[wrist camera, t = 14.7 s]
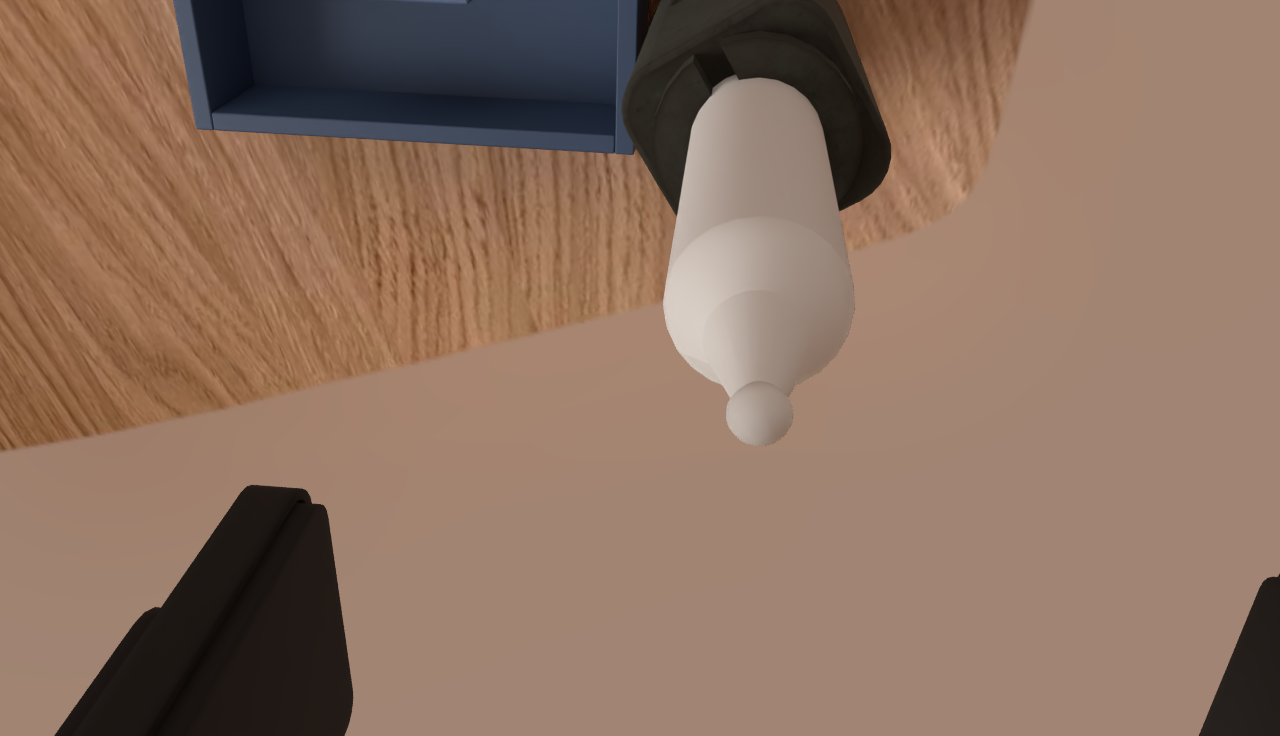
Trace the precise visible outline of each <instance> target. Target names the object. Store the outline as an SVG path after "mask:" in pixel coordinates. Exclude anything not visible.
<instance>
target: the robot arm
mask: <svg viewBox="0 0 1280 736" xmlns="http://www.w3.org/2000/svg"><path fill="white" fill-rule="evenodd" d="M352 706H353V688H352V681H351V674H350V667H349V660H348V653H347V646H346V639H345V632H344V625H343V618H342V611H341V604H340V597H339V590H338V583H337V575H336V568H335V561H334V554H333V548H332V541H331V534H330V526H329V519H328V514H327V510H326V508H325V507H324V505H321V504H312V502H311V498H310V496H309V494H308V492H307V491H306V490H304V489H300V488H286V487H273V486H259V485H250V486H247V487H246V488H245V489H244V490H243V491H242V492H241V493H240V495H239V496H238V497H237V499H236V500H235V502H234V503H233V505H232V506H231V508H230V509H229V511H228V512H227V513H226V515H225V516H224V518H223V519H222V521H221V522H220V523H219V525H218V526H217V528H216V529H215V531H214V532H213V534H212V535H211V537H210V538H209V539H208V541H207V542H206V544H205V545H204V547H203V548H202V549H201V551H200V552H199V554H198V555H197V557H196V558H195V559H194V561H193V562H192V564H191V565H190V567H189V568H188V570H187V571H186V572H185V574H184V575H183V577H182V578H181V580H180V581H179V583H178V584H177V586H176V587H175V588H174V590H173V591H172V593H171V594H170V596H169V597H168V598H167V600H166V601H165V603H164V604H163V606H162V607H161V608H159V607H154V608H152V609H150V610H148V611H146V612H145V613H144V614H143V615H142V616H141V617H140V618H139V619H138V620H137V621H136V622H135V624H134V625H133V626H132V628H131V629H130V630H129V632H128V633H127V634H126V636H125V637H124V639H123V640H122V641H121V643H120V644H119V646H118V647H117V648H116V650H115V651H114V653H113V654H112V655H111V657H110V658H109V660H108V661H107V662H106V664H105V665H104V667H103V668H102V669H101V671H100V672H99V674H98V675H97V676H96V678H95V679H94V681H93V682H92V684H91V685H90V686H89V688H88V689H87V691H86V692H85V694H84V695H83V696H82V698H81V699H80V700H79V702H78V703H77V705H76V706H75V707H74V709H73V710H72V712H71V713H70V714H69V716H68V717H67V719H66V720H65V722H64V723H63V724H62V726H61V727H60V728H59V730H58V732H57V733H56V734H55V736H344V735H345V733H346V730H347V728H348V725H349V722H350V717H351V713H352ZM1199 736H1280V574H1279V576H1278V577H1270V578H1267V579H1266V580H1265V581H1263V583H1262V585H1261V586H1260V588H1259V591H1258V593H1257V596H1256V598H1255V600H1254V603H1253V605H1252V608H1251V610H1250V613H1249V615H1248V617H1247V620H1246V622H1245V625H1244V627H1243V630H1242V632H1241V634H1240V637H1239V639H1238V642H1237V644H1236V647H1235V649H1234V652H1233V654H1232V656H1231V659H1230V661H1229V664H1228V666H1227V669H1226V671H1225V673H1224V676H1223V678H1222V681H1221V683H1220V686H1219V688H1218V690H1217V693H1216V695H1215V698H1214V700H1213V703H1212V705H1211V707H1210V710H1209V712H1208V715H1207V717H1206V720H1205V722H1204V724H1203V727H1202V729H1201V732H1200V734H1199Z"/></svg>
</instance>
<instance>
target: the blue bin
mask: <svg viewBox="0 0 1280 736" xmlns="http://www.w3.org/2000/svg"><path fill="white" fill-rule="evenodd" d="M173 1H174V7H175V13H176V18H177V24H178V29H179V35H180V40H181V46H182V52H183V57H184V63H185V68H186V74H187V79H188V85H189V91H190V96H191V102H192V107H193V113H194V118H195V124H196V128H197V129H202V130H214V129H215V130H221V131H238V132H256V133H273V134H290V135H307V136H324V137H341V138H358V139H375V140H392V141H409V142H426V143H443V144H461V145H478V146H495V147H512V148H529V149H546V150H563V151H580V152H597V153H616V154H627V155H633V154H634V152H635V149H636V147H635V145H634V144H633V142H632V140H631V139H630V137H629V135H628V133H627V131H626V128H625V126H624V124H623V118H622V111H621V108H622V99H623V94H624V92H625V89H626V87H627V84H628V82H629V79H630V77H631V74H632V71H633V69H634V66H635V64H636V61H637V59H638V56H639V54H640V51H641V48H642V46H643V43H644V41H645V38H646V36H647V33H648V10H649V0H472V1H471V2H470V3H469V4H466V5H465V4H445V3H425V2H405V1H384V0H173Z"/></svg>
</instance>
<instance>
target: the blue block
mask: <svg viewBox="0 0 1280 736" xmlns="http://www.w3.org/2000/svg"><path fill="white" fill-rule="evenodd" d="M384 1H405V2H425V3H445V4H465V5H466V4H469V3H470V2H471V1H472V0H384Z"/></svg>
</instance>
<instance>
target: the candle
mask: <svg viewBox="0 0 1280 736" xmlns="http://www.w3.org/2000/svg"><path fill="white" fill-rule="evenodd" d="M621 111H622V118H623V124H624V126H625V128H626V131H627V133H628V135H629V137H630V139H631V140H632V142H633V144H634V145H635V147H636V149H637V151H638V152H639V154H640V156H641V157H642V159H643V161H644V162H645V164H646V166H647V167H648V169H649V171H650V172H651V174H652V176H653V177H654V179H655V181H656V182H657V184H658V186H659V187H660V189H661V191H662V192H663V194H664V196H665V197H666V199H667V201H668V203H669V204H670V206H671V208H672V209H673V211H674V213H675V214H676V216H677V220H676V226H675V232H674V238H673V244H672V250H671V256H670V262H669V268H668V274H667V280H666V286H665V293H664V300H663V306H664V313H665V320H666V326H667V329H668V331H669V333H670V335H671V338H672V340H673V342H674V344H675V347H676V349H677V350H678V352H679V353H680V354H681V355H682V356H683V358H684V359H685V360H686V361H687V362H688V364H689V365H690V366H691V367H692V368H694V369H695V370H696V371H698V372H699V373H701V374H702V375H703V376H705V377H706V378H708V379H709V380H711V381H714V382H716V383H719V384H721V385H723V387H724V389H725V390H726V392H727V394H728V395H729V397H730V400H729V402H728V404H727V410H726V418H727V423H728V426H729V428H730V430H731V431H732V432H733V434H734V435H735V436H736V437H737V438H738V439H740V440H741V441H742V442H744V443H747V444H750V445H755V446H766V445H769V444H773V443H775V442H777V441H779V440H780V439H781V438H782V437H783V436H784V435H785V434H786V433H787V432H788V430H789V428H790V426H791V424H792V420H793V410H792V405H791V402H790V400H789V398H788V397H789V395H790V394H791V392H792V390H793V388H794V387H795V385H796V384H799V383H802V382H803V381H805V380H807V379H808V378H810V377H811V376H813V375H815V374H817V373H819V372H820V371H821V370H822V369H823V368H824V367H825V366H826V365H827V364H828V363H829V362H830V361H831V360H832V359H833V358H834V357H835V356H836V355H837V354H838V352H839V350H840V348H841V347H842V345H843V343H844V342H845V340H846V338H847V336H848V333H849V330H850V326H851V322H852V318H853V314H854V310H855V304H854V286H853V281H852V275H851V270H850V265H849V260H848V255H847V250H846V245H845V240H844V234H843V229H842V224H841V219H840V214H839V211H841V210H843V209H845V208H847V207H849V206H851V205H853V204H855V203H857V202H859V201H861V200H863V199H864V198H866V197H867V196H869V195H870V194H872V193H873V192H874V190H875V189H876V188H877V187H878V186H879V185H880V184H881V183H882V181H883V179H884V177H885V175H886V174H887V172H888V169H889V165H890V161H891V143H890V140H889V137H888V134H887V131H886V128H885V125H884V123H883V120H882V117H881V115H880V112H879V109H878V106H877V104H876V101H875V98H874V96H873V93H872V90H871V87H870V85H869V82H868V79H867V77H866V74H865V71H864V69H863V66H862V63H861V60H860V58H859V55H858V52H857V50H856V47H855V44H854V41H853V39H852V36H851V33H850V31H849V28H848V25H847V22H846V20H845V17H844V15H843V13H842V11H841V9H840V7H839V5H838V2H837V0H660V2H659V5H658V8H657V10H656V13H655V15H654V18H653V20H652V23H651V25H650V28H649V31H648V33H647V36H646V38H645V41H644V43H643V46H642V48H641V51H640V54H639V56H638V59H637V61H636V64H635V66H634V69H633V71H632V74H631V77H630V79H629V82H628V84H627V87H626V89H625V92H624V94H623V99H622V108H621Z"/></svg>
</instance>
